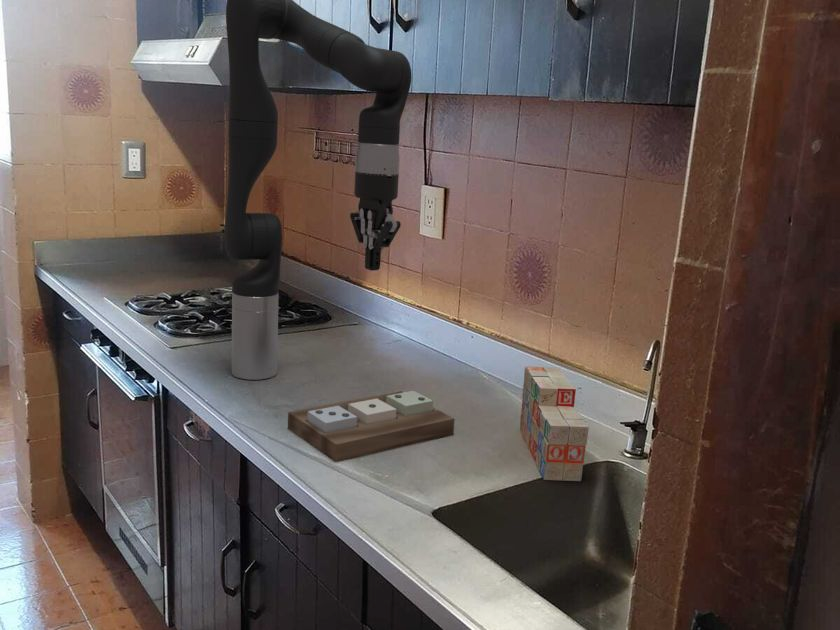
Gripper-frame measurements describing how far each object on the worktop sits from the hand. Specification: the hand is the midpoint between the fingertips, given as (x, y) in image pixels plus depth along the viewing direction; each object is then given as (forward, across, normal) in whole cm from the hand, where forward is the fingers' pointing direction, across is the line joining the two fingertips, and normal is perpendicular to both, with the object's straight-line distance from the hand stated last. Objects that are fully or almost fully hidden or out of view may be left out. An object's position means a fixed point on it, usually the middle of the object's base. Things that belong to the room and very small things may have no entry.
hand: (372, 269), depth 143 cm
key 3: (+26, +8, -12) cm, 29 cm away
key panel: (+27, +8, -4) cm, 28 cm away
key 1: (+26, +8, -4) cm, 27 cm away
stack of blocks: (+27, +30, +17) cm, 44 cm away
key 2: (+25, +8, +4) cm, 27 cm away
